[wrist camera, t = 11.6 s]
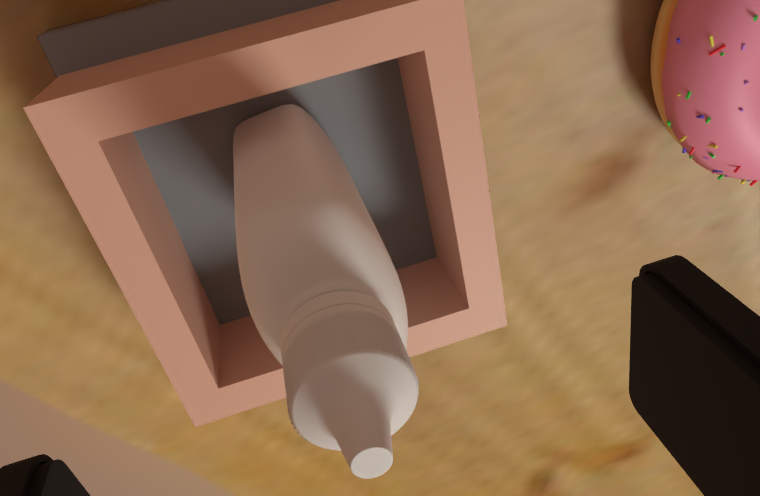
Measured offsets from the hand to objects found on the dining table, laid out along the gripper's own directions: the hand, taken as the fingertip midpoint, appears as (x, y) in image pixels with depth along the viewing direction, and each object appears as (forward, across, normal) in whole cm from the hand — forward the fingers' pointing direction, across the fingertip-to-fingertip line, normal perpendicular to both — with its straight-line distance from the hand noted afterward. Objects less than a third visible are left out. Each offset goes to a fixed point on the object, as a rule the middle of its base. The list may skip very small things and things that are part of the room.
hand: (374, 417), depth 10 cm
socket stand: (+12, 0, +1) cm, 13 cm away
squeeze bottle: (+12, 0, +1) cm, 12 cm away
